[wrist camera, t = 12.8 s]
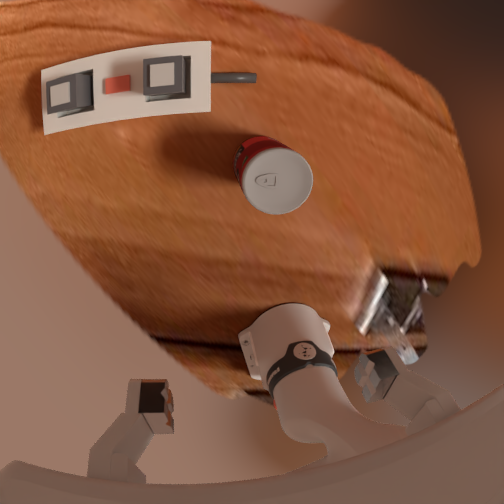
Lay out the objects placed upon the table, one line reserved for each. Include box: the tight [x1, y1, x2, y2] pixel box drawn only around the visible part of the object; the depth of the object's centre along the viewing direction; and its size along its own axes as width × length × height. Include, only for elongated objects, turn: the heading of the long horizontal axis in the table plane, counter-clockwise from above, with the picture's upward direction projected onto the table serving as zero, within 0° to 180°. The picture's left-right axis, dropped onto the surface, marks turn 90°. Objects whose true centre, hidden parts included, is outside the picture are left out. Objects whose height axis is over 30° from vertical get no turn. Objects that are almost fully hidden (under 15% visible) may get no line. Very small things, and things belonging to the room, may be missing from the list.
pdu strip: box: [41, 41, 256, 135], centre depth 29 cm, size 9×28×9 cm, turn 89°
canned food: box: [233, 136, 313, 214], centre depth 36 cm, size 8×8×11 cm
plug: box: [143, 55, 186, 96], centre depth 28 cm, size 4×4×8 cm
